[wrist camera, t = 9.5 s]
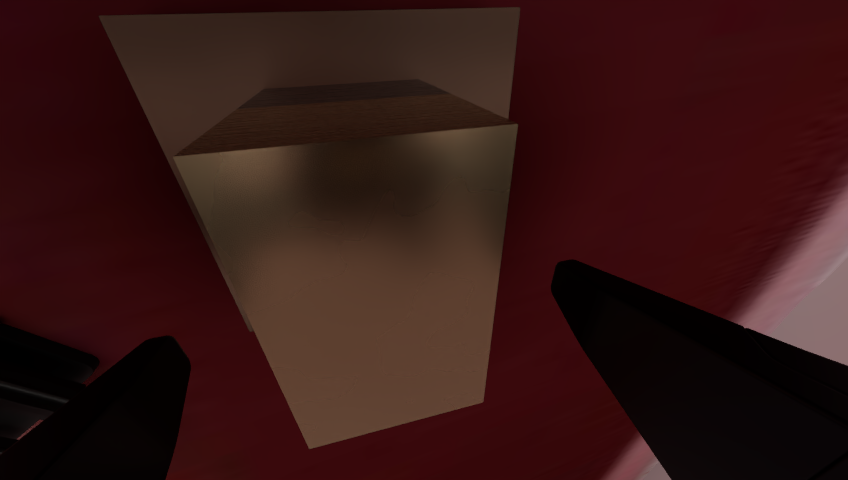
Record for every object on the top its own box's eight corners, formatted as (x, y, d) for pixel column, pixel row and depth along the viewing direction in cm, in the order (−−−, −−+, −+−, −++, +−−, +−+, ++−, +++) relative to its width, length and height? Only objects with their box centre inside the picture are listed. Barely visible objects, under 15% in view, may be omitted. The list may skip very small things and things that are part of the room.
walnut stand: (144, 20, 10) (98, 15, 8) (489, 12, 13) (520, 7, 10) (259, 296, 17) (249, 331, 15) (472, 258, 19) (490, 284, 17)
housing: (317, 284, 14) (309, 449, 9) (263, 89, 10) (173, 156, 4) (425, 265, 15) (482, 402, 9) (419, 79, 11) (518, 123, 5)
